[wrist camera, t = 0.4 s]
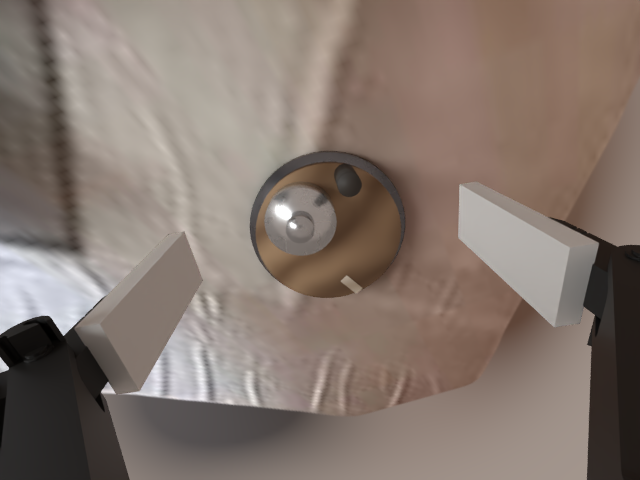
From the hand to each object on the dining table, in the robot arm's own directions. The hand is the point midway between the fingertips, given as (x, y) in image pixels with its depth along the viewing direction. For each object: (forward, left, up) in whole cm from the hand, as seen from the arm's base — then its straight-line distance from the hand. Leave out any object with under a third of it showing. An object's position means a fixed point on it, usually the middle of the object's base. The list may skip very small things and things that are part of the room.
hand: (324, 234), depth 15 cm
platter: (+8, -6, -23) cm, 25 cm away
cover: (+3, -6, -22) cm, 23 cm away
